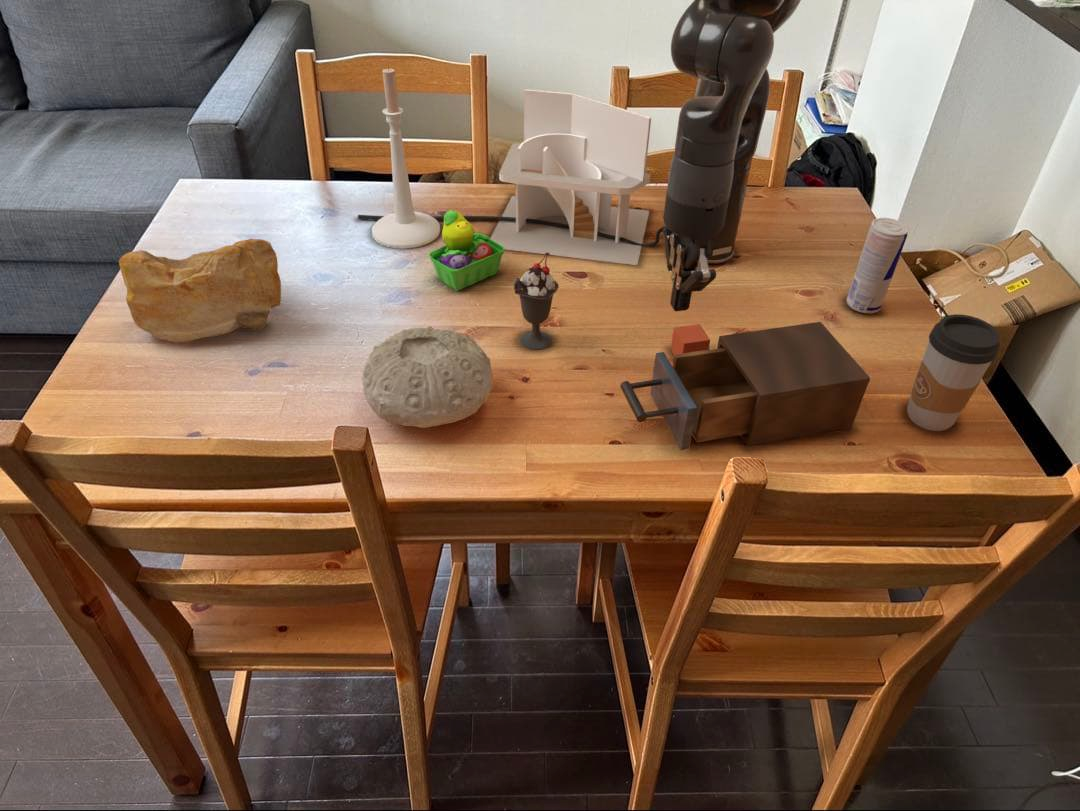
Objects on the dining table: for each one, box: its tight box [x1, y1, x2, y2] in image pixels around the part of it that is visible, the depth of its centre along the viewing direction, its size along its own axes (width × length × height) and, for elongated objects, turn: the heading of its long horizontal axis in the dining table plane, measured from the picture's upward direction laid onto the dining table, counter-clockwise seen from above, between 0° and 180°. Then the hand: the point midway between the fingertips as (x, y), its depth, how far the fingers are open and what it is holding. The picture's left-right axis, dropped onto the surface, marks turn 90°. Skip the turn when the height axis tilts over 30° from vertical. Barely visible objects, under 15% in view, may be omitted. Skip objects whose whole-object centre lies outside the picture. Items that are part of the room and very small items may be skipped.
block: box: [670, 323, 711, 357], centre depth 119 cm, size 4×4×4 cm
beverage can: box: [846, 217, 910, 314], centre depth 127 cm, size 6×6×15 cm
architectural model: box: [489, 88, 652, 266], centre depth 142 cm, size 28×21×23 cm
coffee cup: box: [906, 314, 1001, 432], centre depth 106 cm, size 8×8×15 cm
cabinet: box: [716, 321, 871, 448], centre depth 109 cm, size 16×13×9 cm
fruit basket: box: [428, 209, 506, 292], centre depth 133 cm, size 11×9×11 cm
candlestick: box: [371, 66, 441, 250], centre depth 139 cm, size 13×13×30 cm
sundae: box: [513, 253, 560, 351], centre depth 118 cm, size 7×7×15 cm
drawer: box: [619, 347, 758, 451], centre depth 106 cm, size 20×12×7 cm, turn 104°
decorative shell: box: [361, 326, 493, 429], centre depth 108 cm, size 18×18×10 cm
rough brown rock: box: [118, 238, 282, 343], centre depth 123 cm, size 23×17×15 cm
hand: (679, 307), depth 106 cm, fingers closed
